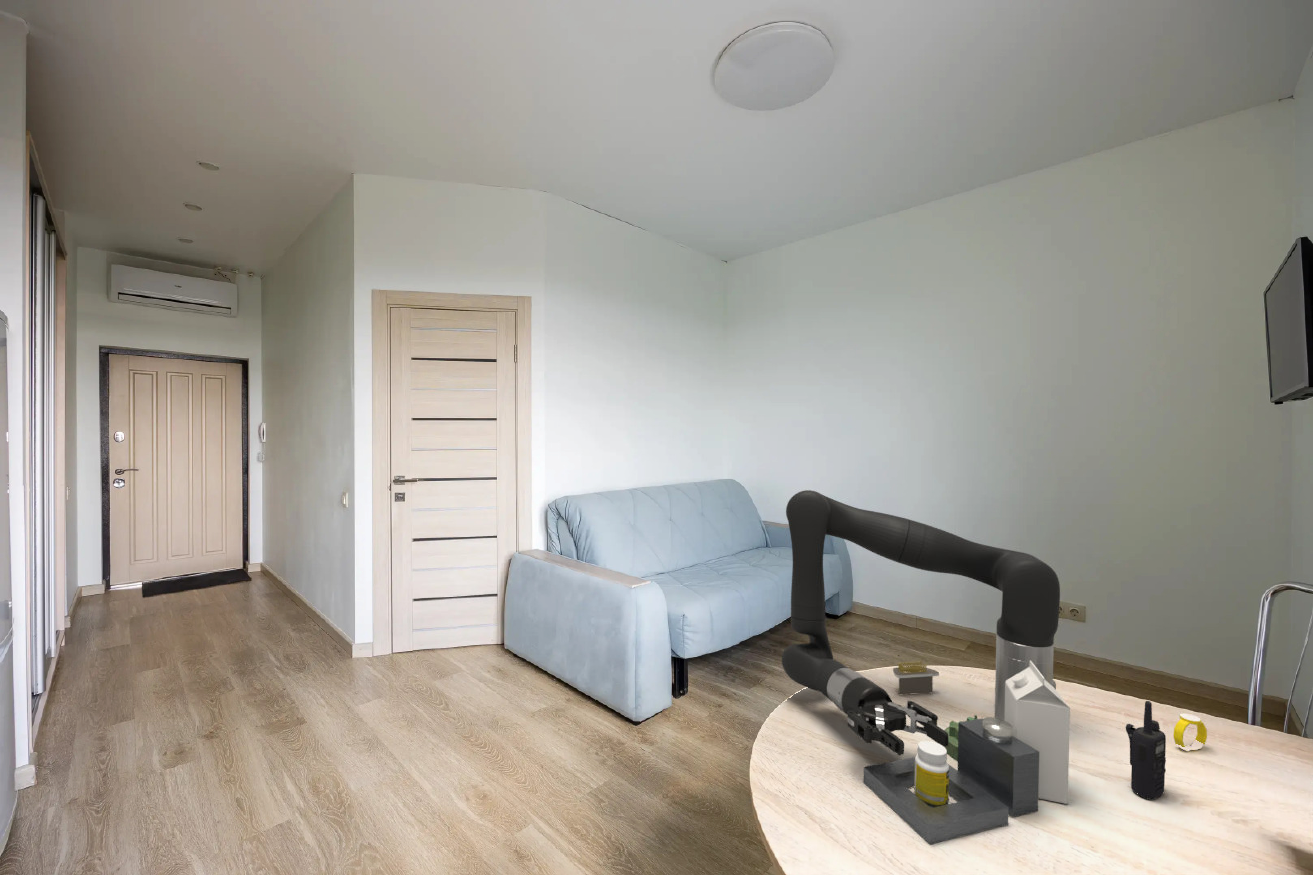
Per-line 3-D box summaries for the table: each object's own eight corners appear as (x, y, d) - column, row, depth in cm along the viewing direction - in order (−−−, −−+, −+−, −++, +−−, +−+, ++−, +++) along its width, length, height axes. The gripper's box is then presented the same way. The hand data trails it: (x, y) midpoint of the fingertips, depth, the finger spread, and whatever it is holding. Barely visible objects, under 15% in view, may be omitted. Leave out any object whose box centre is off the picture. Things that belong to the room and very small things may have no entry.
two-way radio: (1152, 804, 85) (1154, 707, 85) (1117, 787, 89) (1119, 694, 89) (1168, 793, 88) (1171, 699, 88) (1134, 778, 92) (1136, 687, 92)
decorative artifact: (949, 765, 95) (1016, 776, 92) (950, 724, 95) (1017, 734, 92) (938, 735, 104) (998, 744, 102) (939, 697, 104) (999, 706, 101)
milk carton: (1052, 778, 91) (1055, 663, 91) (1068, 805, 85) (1071, 681, 85) (1002, 769, 94) (1005, 657, 94) (1014, 794, 87) (1017, 674, 87)
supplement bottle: (952, 814, 82) (954, 758, 82) (918, 809, 83) (919, 754, 83) (942, 794, 87) (944, 740, 87) (910, 789, 88) (911, 737, 88)
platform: (860, 683, 126) (861, 654, 126) (932, 679, 129) (933, 650, 129) (891, 709, 114) (891, 678, 114) (969, 704, 117) (970, 673, 117)
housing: (966, 761, 96) (967, 698, 96) (1044, 815, 82) (1046, 741, 82) (863, 782, 90) (864, 714, 89) (929, 844, 76) (931, 764, 76)
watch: (1186, 756, 99) (1185, 723, 99) (1169, 748, 102) (1168, 715, 101) (1212, 750, 100) (1211, 718, 100) (1194, 742, 103) (1193, 710, 103)
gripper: (824, 681, 100) (887, 727, 84) (890, 672, 104) (961, 714, 89) (823, 722, 100) (886, 776, 84) (889, 711, 104) (960, 761, 89)
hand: (924, 744), depth 87 cm, fingers open, 8 cm apart
